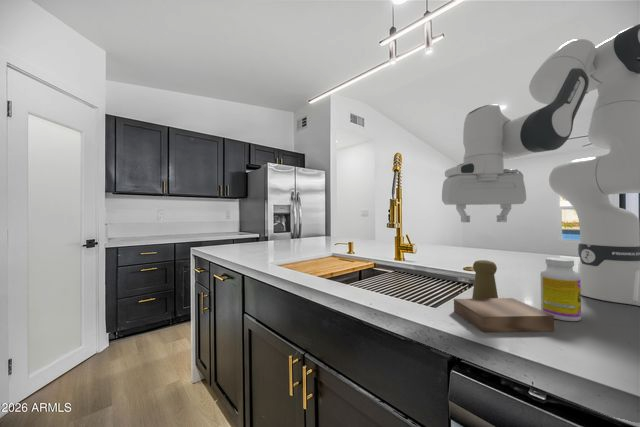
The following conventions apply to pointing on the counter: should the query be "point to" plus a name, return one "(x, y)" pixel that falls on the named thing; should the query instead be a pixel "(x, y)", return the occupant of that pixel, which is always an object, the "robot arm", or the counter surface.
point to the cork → (484, 280)
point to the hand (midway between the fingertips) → (483, 222)
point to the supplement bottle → (561, 290)
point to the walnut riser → (503, 315)
